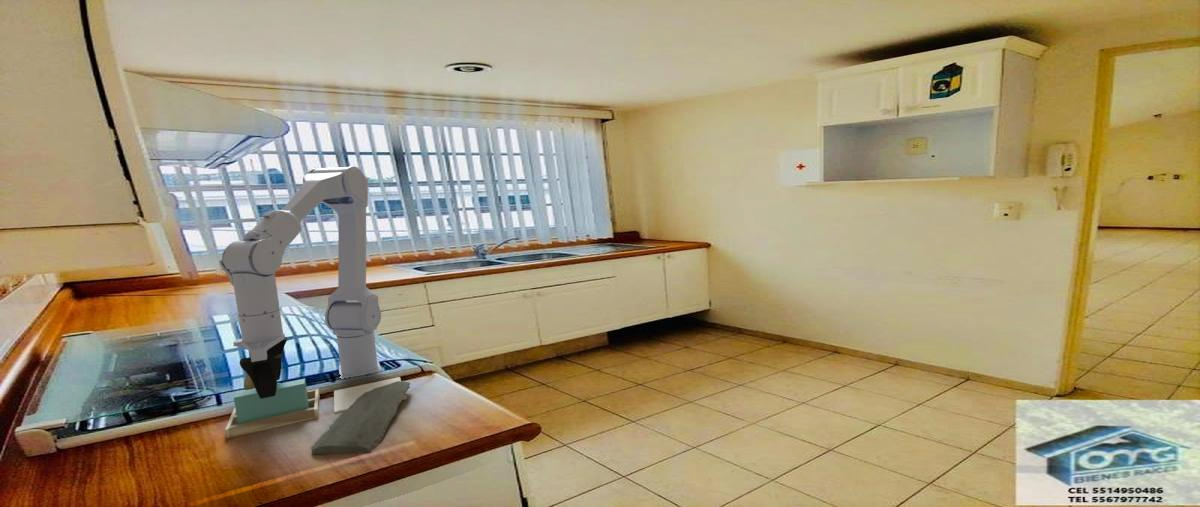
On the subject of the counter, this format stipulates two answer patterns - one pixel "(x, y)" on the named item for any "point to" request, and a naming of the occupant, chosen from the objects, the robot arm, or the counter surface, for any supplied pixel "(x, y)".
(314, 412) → the rack
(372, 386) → the tile
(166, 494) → the counter surface
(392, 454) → the counter surface
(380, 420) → the stone slab
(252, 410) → the board
